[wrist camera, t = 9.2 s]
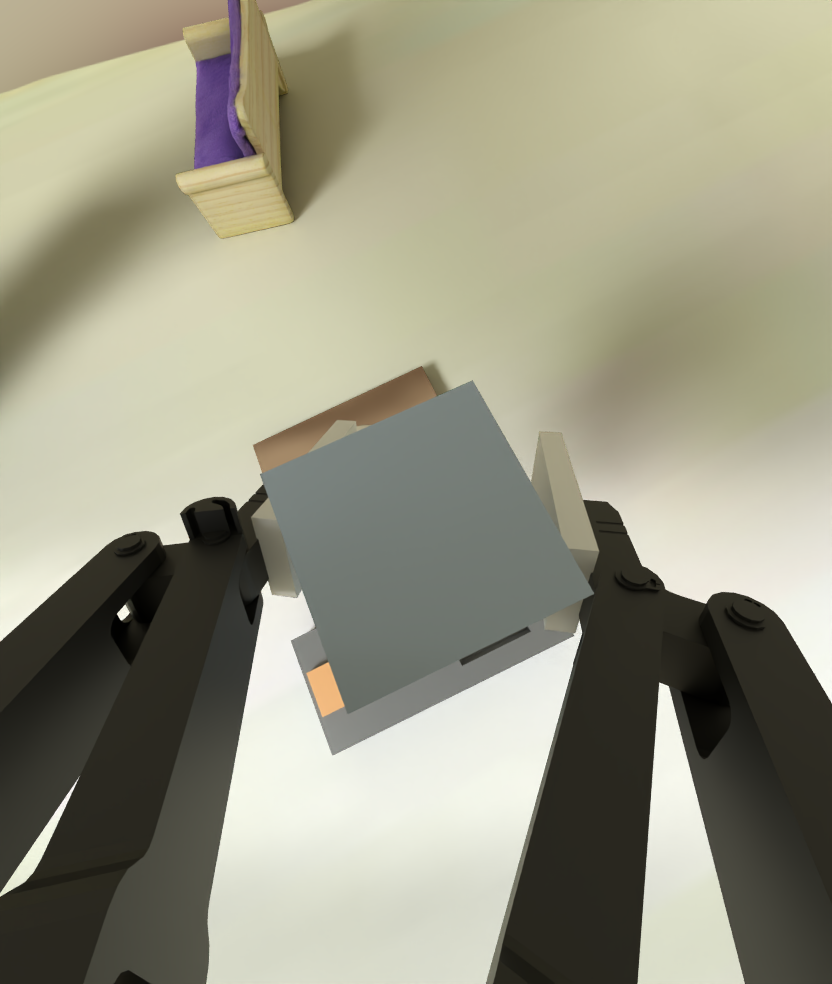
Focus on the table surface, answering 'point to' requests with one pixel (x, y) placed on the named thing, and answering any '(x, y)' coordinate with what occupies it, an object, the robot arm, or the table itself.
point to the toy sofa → (237, 124)
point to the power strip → (414, 696)
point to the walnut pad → (346, 417)
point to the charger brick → (419, 544)
